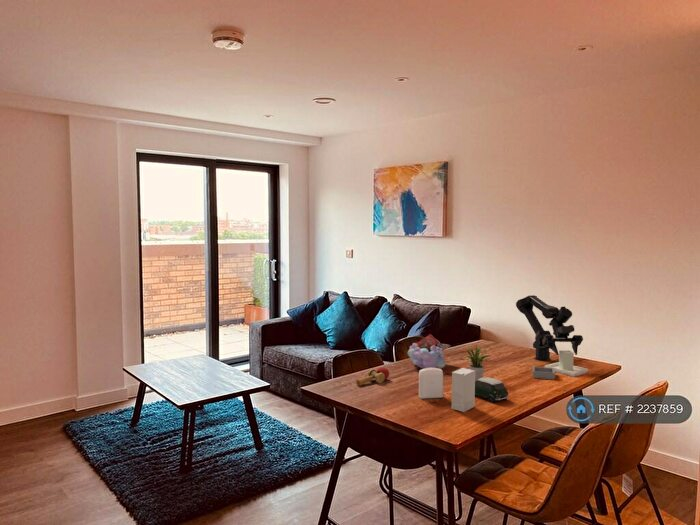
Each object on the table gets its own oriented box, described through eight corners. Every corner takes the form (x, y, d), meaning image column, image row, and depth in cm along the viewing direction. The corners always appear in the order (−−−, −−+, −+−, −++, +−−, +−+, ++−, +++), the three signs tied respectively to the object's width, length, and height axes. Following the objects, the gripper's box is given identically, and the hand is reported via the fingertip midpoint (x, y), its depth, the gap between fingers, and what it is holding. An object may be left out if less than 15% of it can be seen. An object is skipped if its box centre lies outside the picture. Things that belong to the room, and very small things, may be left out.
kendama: (365, 391, 223) (394, 378, 235) (362, 377, 223) (391, 364, 235) (354, 390, 229) (383, 377, 241) (351, 376, 229) (380, 364, 241)
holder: (532, 372, 249) (532, 366, 249) (553, 374, 246) (553, 368, 246) (532, 377, 240) (532, 371, 240) (554, 379, 237) (554, 373, 236)
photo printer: (419, 399, 208) (420, 369, 207) (417, 396, 212) (417, 366, 212) (444, 398, 209) (444, 369, 208) (441, 395, 213) (441, 366, 213)
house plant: (473, 385, 227) (474, 349, 226) (453, 378, 239) (454, 343, 238) (497, 381, 233) (498, 346, 232) (476, 374, 246) (477, 340, 245)
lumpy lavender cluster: (407, 363, 247) (426, 332, 247) (397, 351, 268) (415, 323, 268) (441, 383, 250) (460, 352, 250) (429, 370, 272) (446, 341, 271)
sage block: (558, 368, 254) (559, 350, 254) (568, 368, 254) (569, 350, 254) (562, 370, 249) (563, 352, 249) (573, 370, 249) (573, 352, 249)
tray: (544, 369, 255) (544, 365, 255) (558, 366, 262) (558, 362, 261) (573, 376, 242) (574, 372, 241) (587, 372, 248) (588, 368, 248)
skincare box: (461, 404, 202) (462, 367, 201) (475, 407, 198) (476, 370, 197) (450, 409, 196) (451, 371, 195) (464, 412, 192) (464, 374, 191)
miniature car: (477, 389, 222) (477, 371, 221) (511, 401, 207) (511, 381, 206) (462, 393, 217) (463, 374, 216) (496, 405, 202) (496, 385, 201)
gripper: (544, 319, 255) (553, 345, 244) (582, 319, 254) (591, 345, 244) (538, 331, 263) (546, 357, 252) (574, 331, 263) (583, 358, 252)
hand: (567, 354), depth 250 cm, fingers open, 9 cm apart
